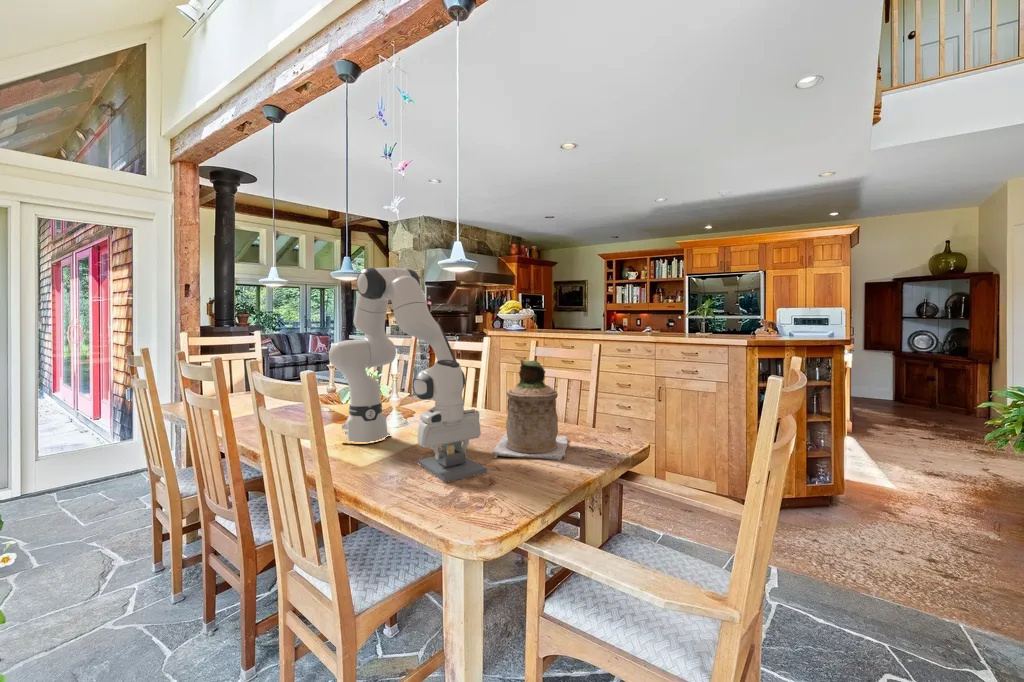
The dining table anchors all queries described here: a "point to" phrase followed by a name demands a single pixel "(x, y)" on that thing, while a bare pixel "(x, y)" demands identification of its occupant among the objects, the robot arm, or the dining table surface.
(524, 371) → the cookie jar
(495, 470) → the dining table surface
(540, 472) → the dining table surface
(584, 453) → the dining table surface
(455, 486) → the dining table surface
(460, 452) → the hollow square frame
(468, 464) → the keeper board
